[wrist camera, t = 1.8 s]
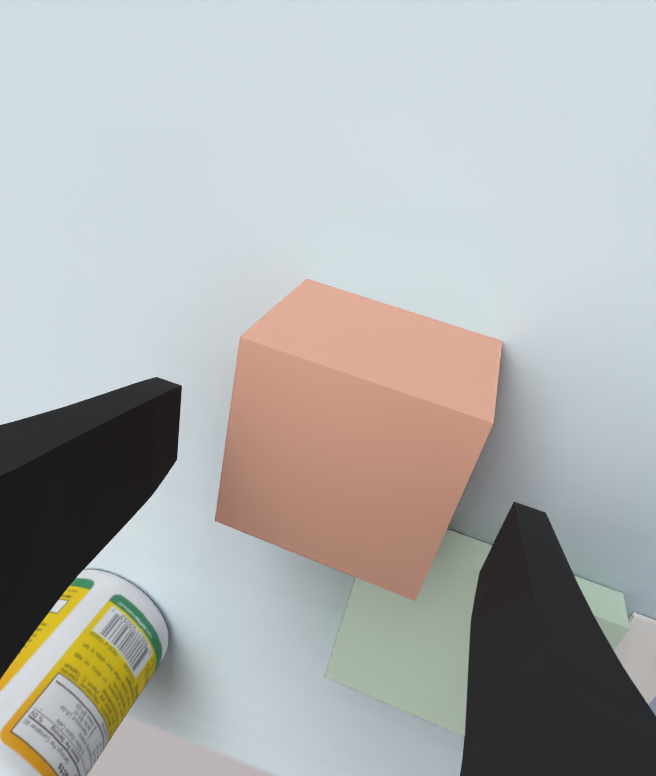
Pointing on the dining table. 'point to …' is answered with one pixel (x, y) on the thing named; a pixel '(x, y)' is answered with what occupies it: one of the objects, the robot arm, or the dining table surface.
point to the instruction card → (640, 656)
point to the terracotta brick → (355, 432)
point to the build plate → (432, 635)
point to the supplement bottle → (78, 677)
